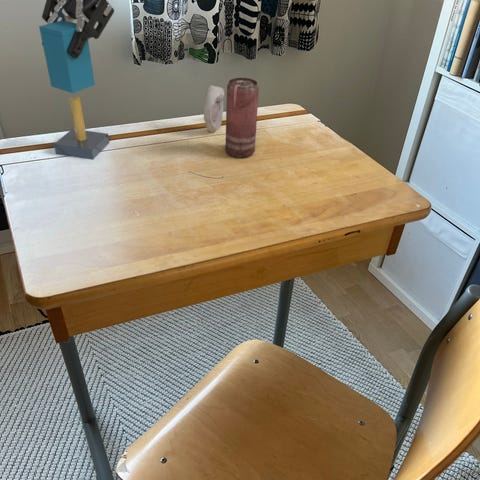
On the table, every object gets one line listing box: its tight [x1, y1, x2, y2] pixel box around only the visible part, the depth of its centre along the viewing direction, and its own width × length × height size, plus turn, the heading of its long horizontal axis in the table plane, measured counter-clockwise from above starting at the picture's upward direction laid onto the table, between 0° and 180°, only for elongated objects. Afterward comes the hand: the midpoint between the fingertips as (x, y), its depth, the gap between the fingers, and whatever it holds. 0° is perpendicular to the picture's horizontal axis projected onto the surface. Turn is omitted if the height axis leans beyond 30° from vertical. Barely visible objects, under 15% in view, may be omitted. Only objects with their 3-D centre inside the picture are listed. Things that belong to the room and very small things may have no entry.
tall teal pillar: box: [38, 20, 96, 94], centre depth 92 cm, size 6×6×10 cm
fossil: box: [203, 84, 226, 133], centre depth 110 cm, size 6×4×10 cm, turn 147°
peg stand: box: [53, 95, 110, 160], centre depth 101 cm, size 8×8×10 cm
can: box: [224, 77, 260, 159], centre depth 101 cm, size 6×6×14 cm
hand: (59, 51), depth 90 cm, fingers closed on tall teal pillar, 5 cm apart
